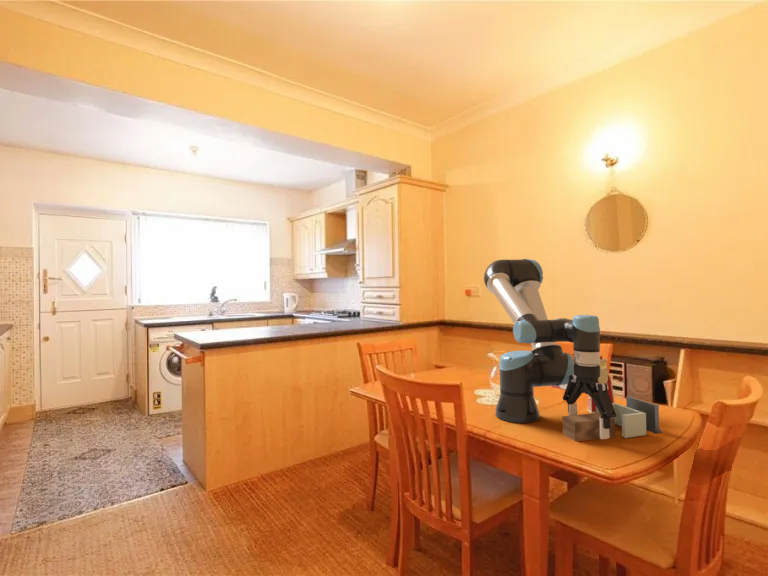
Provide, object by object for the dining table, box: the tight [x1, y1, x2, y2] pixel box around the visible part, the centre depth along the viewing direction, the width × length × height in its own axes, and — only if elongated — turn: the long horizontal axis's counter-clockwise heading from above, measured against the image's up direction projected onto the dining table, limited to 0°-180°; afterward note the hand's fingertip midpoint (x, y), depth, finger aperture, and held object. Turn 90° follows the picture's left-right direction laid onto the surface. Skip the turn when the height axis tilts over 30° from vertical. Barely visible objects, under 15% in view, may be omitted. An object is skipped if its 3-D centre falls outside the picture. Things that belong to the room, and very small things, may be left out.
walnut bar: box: [562, 413, 616, 442], centre depth 128 cm, size 14×6×6 cm, turn 101°
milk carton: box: [586, 358, 615, 414], centre depth 152 cm, size 9×9×20 cm
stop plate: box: [625, 395, 663, 435], centre depth 134 cm, size 2×11×9 cm, turn 14°
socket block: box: [596, 402, 647, 439], centre depth 132 cm, size 8×12×7 cm
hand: (588, 430), depth 129 cm, fingers open, 13 cm apart
